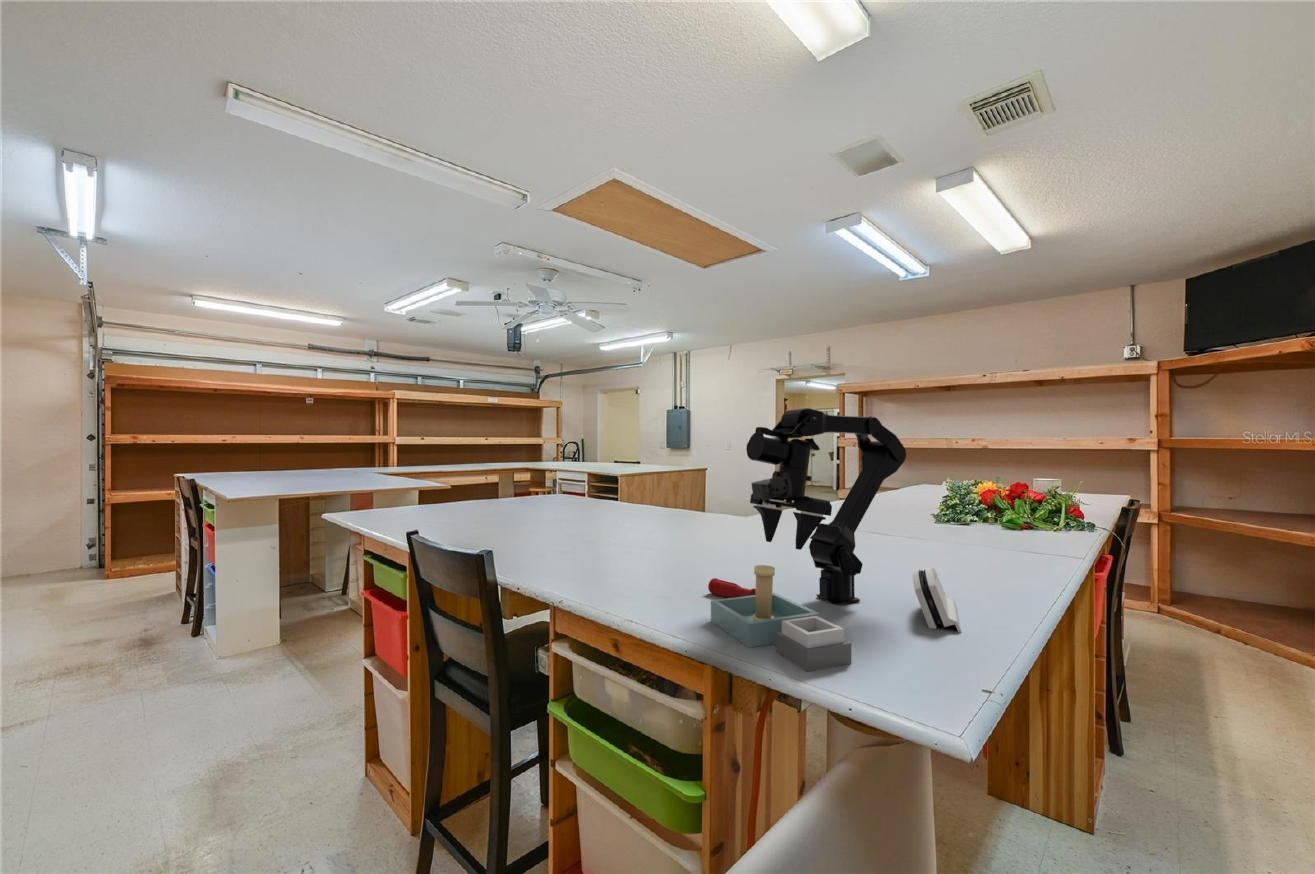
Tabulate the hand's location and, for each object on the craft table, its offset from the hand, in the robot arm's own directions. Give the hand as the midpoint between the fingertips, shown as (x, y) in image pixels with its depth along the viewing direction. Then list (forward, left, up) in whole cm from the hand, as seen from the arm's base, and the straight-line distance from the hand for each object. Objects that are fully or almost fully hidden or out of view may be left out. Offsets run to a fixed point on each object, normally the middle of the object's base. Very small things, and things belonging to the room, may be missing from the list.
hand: (782, 545), depth 104 cm
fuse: (+10, +8, -12) cm, 17 cm away
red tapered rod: (+3, -4, -13) cm, 14 cm away
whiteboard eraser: (-25, +14, -13) cm, 31 cm away
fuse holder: (+10, +22, -13) cm, 27 cm away
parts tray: (+10, +8, -13) cm, 18 cm away
